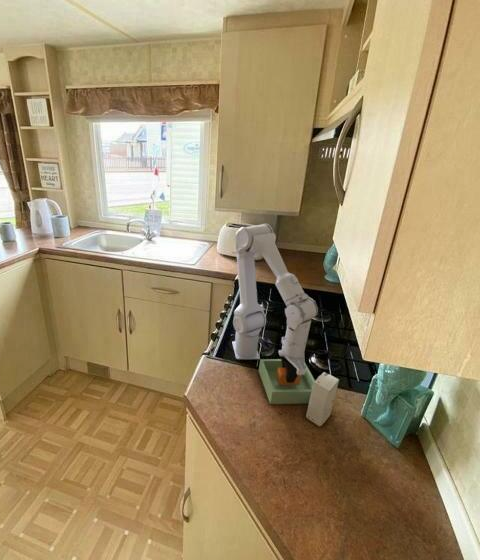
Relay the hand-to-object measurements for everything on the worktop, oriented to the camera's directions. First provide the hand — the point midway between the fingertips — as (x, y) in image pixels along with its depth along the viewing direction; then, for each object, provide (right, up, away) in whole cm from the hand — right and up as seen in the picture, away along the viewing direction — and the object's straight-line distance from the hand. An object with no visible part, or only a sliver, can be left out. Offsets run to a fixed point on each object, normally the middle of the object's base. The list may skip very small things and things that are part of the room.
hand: (288, 377), depth 92 cm
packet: (0, -1, +1) cm, 2 cm away
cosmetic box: (+5, -8, -8) cm, 13 cm away
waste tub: (0, -3, +1) cm, 3 cm away
